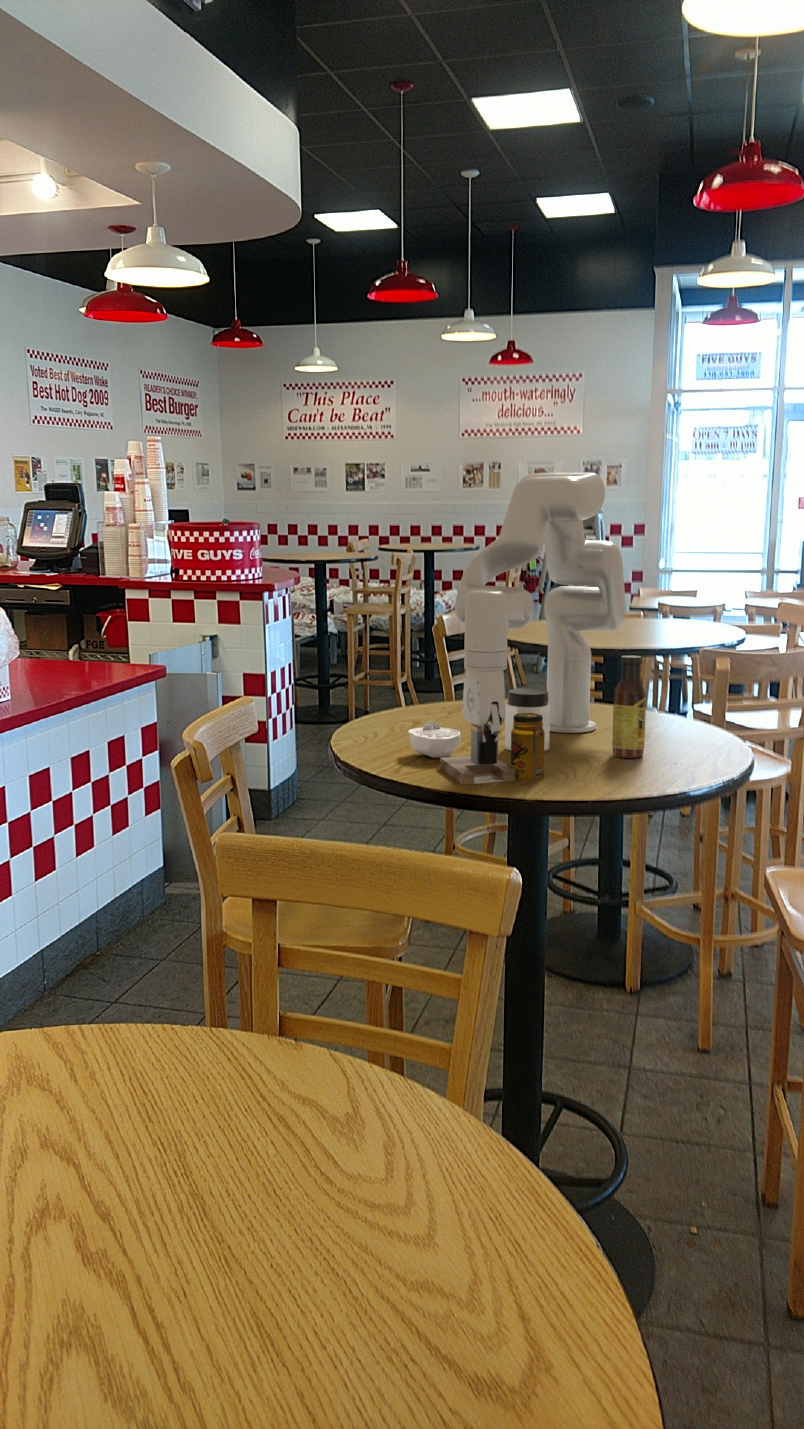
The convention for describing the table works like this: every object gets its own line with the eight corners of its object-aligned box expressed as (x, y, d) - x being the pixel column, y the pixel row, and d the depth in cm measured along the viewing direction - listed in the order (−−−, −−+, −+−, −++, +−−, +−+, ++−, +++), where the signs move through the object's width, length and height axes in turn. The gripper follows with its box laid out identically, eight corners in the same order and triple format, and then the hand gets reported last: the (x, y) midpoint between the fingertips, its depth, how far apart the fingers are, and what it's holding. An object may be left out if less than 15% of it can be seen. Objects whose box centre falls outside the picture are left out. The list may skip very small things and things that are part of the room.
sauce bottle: (644, 760, 208) (648, 659, 204) (611, 758, 209) (615, 658, 205) (643, 752, 214) (647, 654, 210) (611, 751, 215) (615, 653, 212)
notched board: (440, 768, 201) (440, 757, 201) (490, 764, 204) (490, 754, 204) (462, 784, 189) (462, 773, 189) (515, 780, 192) (515, 769, 191)
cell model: (415, 764, 205) (415, 730, 203) (403, 751, 216) (403, 718, 215) (467, 762, 206) (467, 727, 205) (452, 749, 218) (452, 716, 217)
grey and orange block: (470, 761, 193) (471, 724, 192) (491, 760, 194) (492, 723, 193) (476, 765, 190) (477, 727, 189) (497, 763, 191) (498, 726, 190)
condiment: (500, 780, 194) (501, 715, 192) (526, 771, 201) (527, 708, 199) (534, 786, 190) (536, 719, 188) (559, 777, 196) (561, 713, 194)
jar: (556, 751, 215) (557, 693, 213) (521, 755, 212) (522, 696, 210) (531, 743, 223) (533, 686, 221) (498, 747, 220) (499, 689, 217)
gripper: (451, 655, 195) (450, 753, 199) (481, 667, 180) (479, 773, 183) (489, 654, 197) (488, 751, 201) (522, 665, 182) (520, 770, 185)
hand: (484, 760), depth 192 cm, fingers closed on grey and orange block, 3 cm apart
